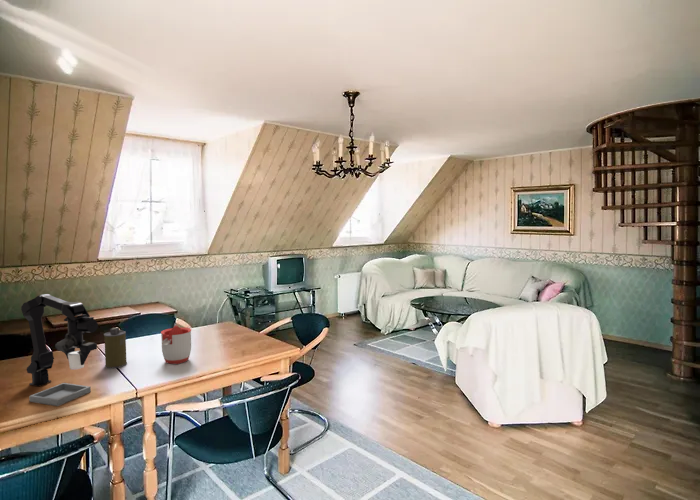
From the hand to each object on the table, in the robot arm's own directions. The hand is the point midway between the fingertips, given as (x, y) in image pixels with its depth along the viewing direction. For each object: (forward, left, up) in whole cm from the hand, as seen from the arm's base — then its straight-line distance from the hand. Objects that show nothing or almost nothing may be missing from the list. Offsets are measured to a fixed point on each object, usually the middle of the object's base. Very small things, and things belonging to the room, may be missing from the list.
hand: (76, 364), depth 202 cm
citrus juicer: (+17, +46, -12) cm, 50 cm away
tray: (+1, -9, -11) cm, 15 cm away
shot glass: (0, 0, -2) cm, 2 cm away
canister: (-10, +32, -12) cm, 35 cm away
